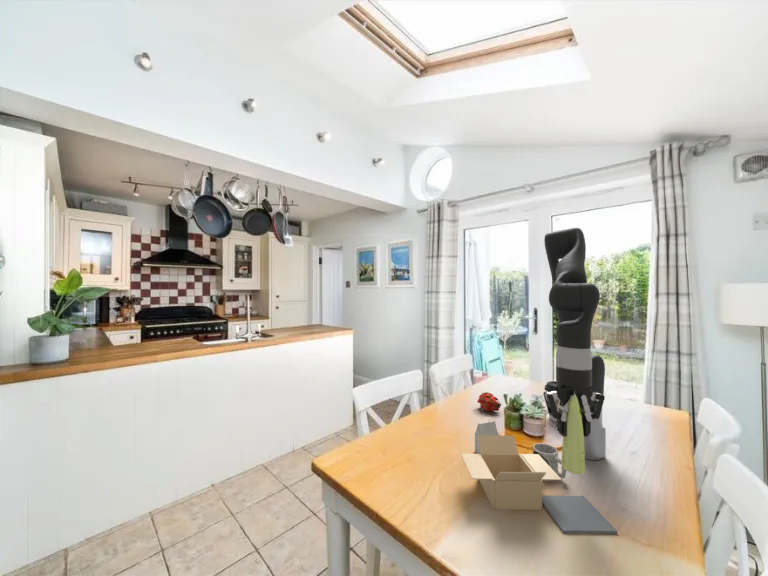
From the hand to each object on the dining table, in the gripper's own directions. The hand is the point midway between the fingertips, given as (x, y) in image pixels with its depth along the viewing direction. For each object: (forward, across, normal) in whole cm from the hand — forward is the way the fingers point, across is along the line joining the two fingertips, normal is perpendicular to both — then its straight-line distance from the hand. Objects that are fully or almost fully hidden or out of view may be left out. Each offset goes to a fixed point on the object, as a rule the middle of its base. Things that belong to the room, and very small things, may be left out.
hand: (573, 434), depth 76 cm
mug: (+19, -3, -17) cm, 26 cm away
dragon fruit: (+19, -1, -66) cm, 69 cm away
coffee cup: (+19, -27, -56) cm, 65 cm away
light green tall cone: (+9, 0, 0) cm, 9 cm away
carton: (+19, +13, -8) cm, 24 cm away
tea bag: (+19, +12, -29) cm, 37 cm away
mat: (+19, 0, 0) cm, 19 cm away
